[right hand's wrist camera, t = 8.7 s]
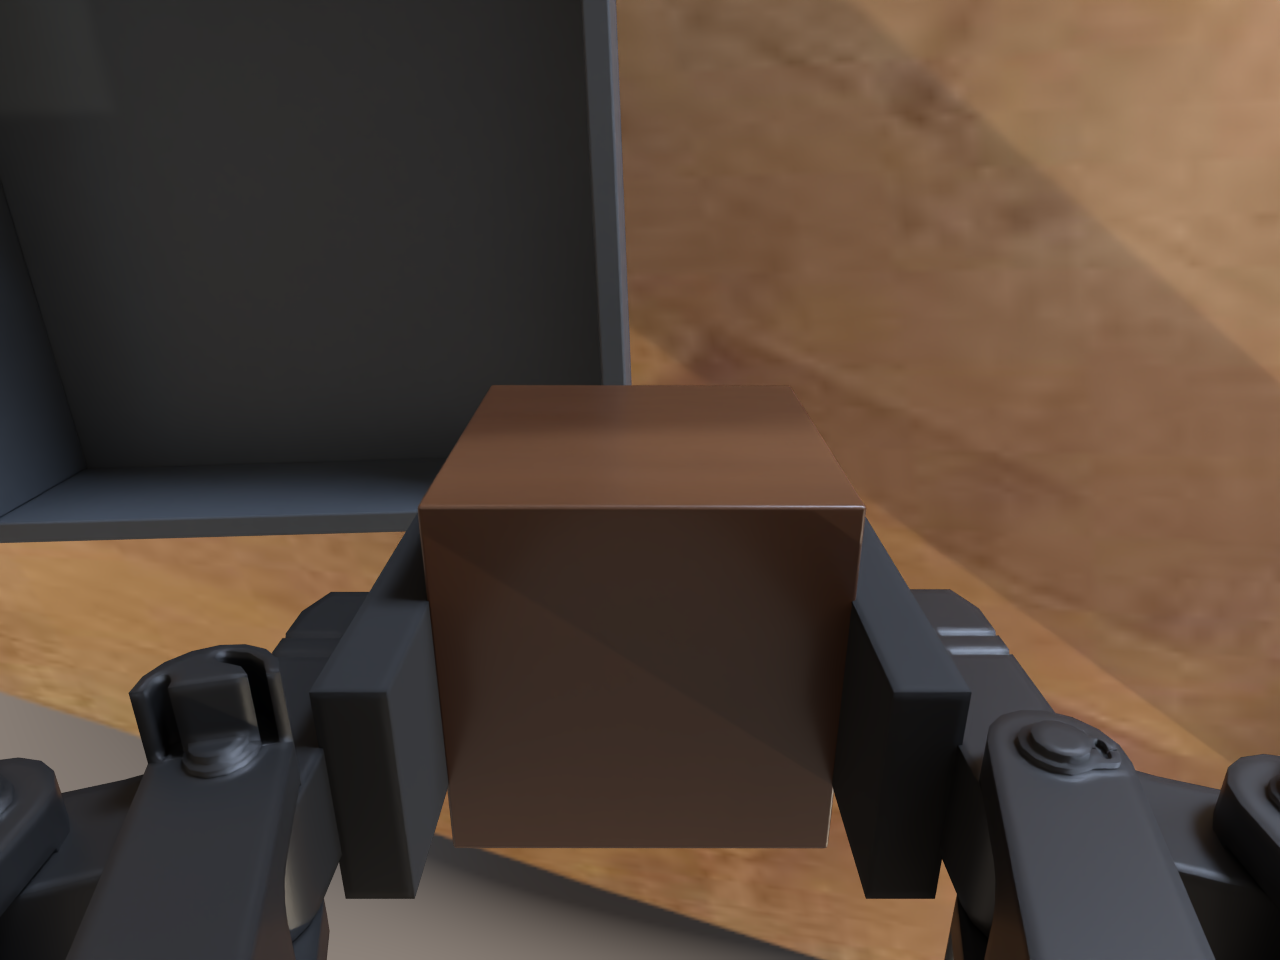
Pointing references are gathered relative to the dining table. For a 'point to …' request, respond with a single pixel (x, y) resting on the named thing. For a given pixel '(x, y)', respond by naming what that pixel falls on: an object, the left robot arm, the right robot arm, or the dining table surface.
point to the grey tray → (291, 251)
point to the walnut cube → (640, 617)
